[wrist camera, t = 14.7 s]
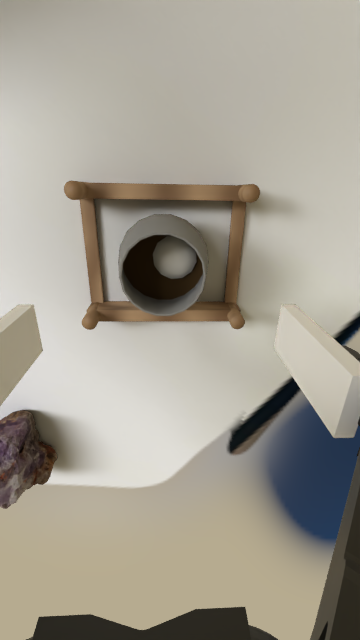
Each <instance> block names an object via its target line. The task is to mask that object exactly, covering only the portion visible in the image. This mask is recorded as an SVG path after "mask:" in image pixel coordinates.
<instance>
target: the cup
mask: <svg viewBox="0 0 360 640" xmlns="http://www.w3.org/2000/svg"><path fill="white" fill-rule="evenodd" d="M208 262H209V261H208V254H207V246H206V244H205V242H204V240H203V238H202V236H201V234H200V233H199V231H198V230H197V229H196V228H195V227H193V226H192V225H191V224H190V223H189V222H188V221H187V220H184V219H182V218H179V217H177V216H174V215H171V214H154V215H152V216H149V217H147V218H144V219H141V220H139V221H138V222H137V223H136V224H135V225H134V226H133V227H131V228H130V229H129V230H128V231H127V233H126V235H125V237H124V239H123V241H122V243H121V245H120V250H119V261H118V264H119V278H120V282H121V285H122V289H123V292H124V293H125V295H126V296H127V298H128V299H129V300H130V302H131V303H132V304H133V305H135V306H136V307H137V308H139V309H140V310H141V311H143V312H146V313H149V314H152V315H155V316H172V315H175V314H178V313H180V312H183V311H185V310H186V309H188V308H189V307H190V306H192V305H193V304H194V303H195V302H196V301H197V299H198V298H199V296H200V294H201V293H202V291H203V288H204V284H205V279H206V274H207V268H208Z"/></svg>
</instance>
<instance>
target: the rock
mask: <svg viewBox="0 0 360 640" xmlns="http://www.w3.org/2000/svg"><path fill="white" fill-rule="evenodd" d="M35 425H36V423H35V421H34V420H33V415H32V414H31V413H30V412H29V411H25V410H20V411H16V412H13V413H11V414H9V415H8V416H7V417H4V418H3V419H2V420H0V507H2V508H5V509H6V508H8V507H9V506H10V505H11V504H13V503H16V501H17V500H18V498H19V497H20V496H21V494H22V493H23V492H24V491H25V490H26V489H29V488H31V487H32V486H33V485H35V484H42V485H43V484H44V483H46V482H47V481H48V479H49V477H50V474H51V471H52V468H53V464H54V462H55V461H56V460H57V454H56V451H55V450H54V449H53V448H52V447H51V446H48V445H44V444H43V442H40V441H39V432H38V430H35Z"/></svg>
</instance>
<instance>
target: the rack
mask: <svg viewBox="0 0 360 640" xmlns="http://www.w3.org/2000/svg"><path fill="white" fill-rule="evenodd" d="M64 192H65V194H66V196H67V197H68V198H70V199H72V200H79V199H80V206H81V215H82V224H83V233H84V241H85V250H86V259H87V268H88V276H89V285H90V294H91V302H92V303H91V305H90V306H89V308H88V309H87V313H86V315H85V317H84V318H83V320H82V325H83V327H84V328H86V329H89V330H91V329H94V328H95V327H96V325H97V323H98V321H229V322H230V324H231V326H232V327H233V328H234V329H240V328H242V327H243V326H244V324H245V320H244V318H243V317H242V315H241V313H240V309H239V307H238V305H237V304H236V299H237V289H238V279H239V269H240V259H241V249H242V239H243V229H244V219H245V209H246V202H249V203H252V202H255V201H256V200H257V199H258V198H259V195H260V190H259V188H258V186H256V185H254V184H248V185H238V186H235V185H180V184H126V183H87V182H78V181H69V182H67V183H66V184H65V186H64ZM94 198H97V199H159V200H222V201H232V213H231V225H230V238H229V250H228V262H227V274H226V286H225V298H224V302H221V301H196V302H195V303H194V304H193V305H192V306H190V307H189V308H188V309H186V310H185V311H183V312H180V313H178V314H175V315H172V316H155V315H152V314H149V313H146V312H143V311H141V310H140V309H139V308H137V307H136V306H135V305H133V304H132V303H131V302H130V301H104V296H103V286H102V275H101V265H100V254H99V244H98V234H97V223H96V213H95V202H94Z"/></svg>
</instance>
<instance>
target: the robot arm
mask: <svg viewBox="0 0 360 640" xmlns="http://www.w3.org/2000/svg"><path fill="white" fill-rule="evenodd" d="M274 350H275V352H276V353H277V354H278V356H279V357H280V359H281V360H282V362H283V363H284V365H285V366H286V368H287V369H288V371H289V372H290V374H291V375H292V377H293V378H294V380H295V381H296V383H297V384H298V386H299V387H300V389H301V390H302V392H303V393H304V394H305V396H306V397H307V399H308V400H309V402H310V403H311V405H312V406H313V408H314V409H315V411H316V412H317V414H318V415H319V417H320V418H321V420H322V421H323V423H324V424H325V425H326V427H327V429H328V430H329V431H330V433H331V435H332V436H333V437H334V438H351V437H354V435H355V432H356V429H357V427H358V425H359V426H360V354H359V353H358V352H356V351H355V350H353V349H351V348H348V347H347V346H341V345H340V344H339V343H338V342H337V341H336V340H334V339H333V338H332V337H331V336H330V335H329V334H328V333H327V332H325V331H324V330H323V329H322V328H321V327H320V326H319V325H318V324H316V323H315V322H314V321H313V320H312V319H311V318H310V317H309V316H308V315H306V314H305V313H304V312H303V311H302V310H301V309H300V308H299V307H297V306H296V305H295V304H281V309H280V315H279V321H278V326H277V332H276V338H275V344H274ZM42 351H43V349H42V344H41V339H40V334H39V329H38V324H37V319H36V314H35V310H34V305H17V306H16V307H15V308H13V309H12V310H11V311H10V312H8V313H7V314H6V315H4V316H3V317H2V318H1V319H0V406H1V405H2V403H3V402H4V401H5V399H6V398H7V397H8V395H9V394H10V393H11V391H12V390H13V389H14V388H15V386H16V385H17V384H18V382H19V381H20V380H21V378H22V377H23V376H24V375H25V373H26V372H27V371H28V369H29V368H30V367H31V365H32V364H33V363H34V361H35V360H36V359H37V358H38V356H39V355H40V354H41V352H42ZM357 456H358V459H357V463H356V467H355V471H354V475H353V479H352V483H351V486H350V491H349V494H348V498H347V502H346V506H345V509H344V513H343V517H342V521H341V525H340V529H339V533H338V537H337V540H336V545H335V548H334V552H333V556H332V560H331V564H330V568H329V571H328V575H327V580H326V583H325V587H324V591H323V595H322V599H321V602H320V606H319V610H318V614H317V618H316V622H315V625H314V629H313V632H312V635H311V638H310V640H360V448H359V451H358V454H357ZM26 640H278V639H277V638H275V637H274V636H272V635H271V634H269V633H267V632H265V631H263V630H261V629H259V628H256V627H253V626H250V625H248V620H247V614H246V609H245V607H234V608H213V609H195V610H193V611H191V612H188V613H186V614H183V615H181V616H178V617H176V618H174V619H171V620H169V621H166V622H164V623H162V624H159V625H157V626H154V627H152V628H150V629H147V630H137V629H134V628H131V627H128V626H125V625H121V624H118V623H116V622H112V621H109V620H106V619H103V618H100V617H97V616H94V615H69V616H49V617H39V619H38V622H37V625H36V629H35V632H34V635H33V637H31V638H29V639H26Z"/></svg>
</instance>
